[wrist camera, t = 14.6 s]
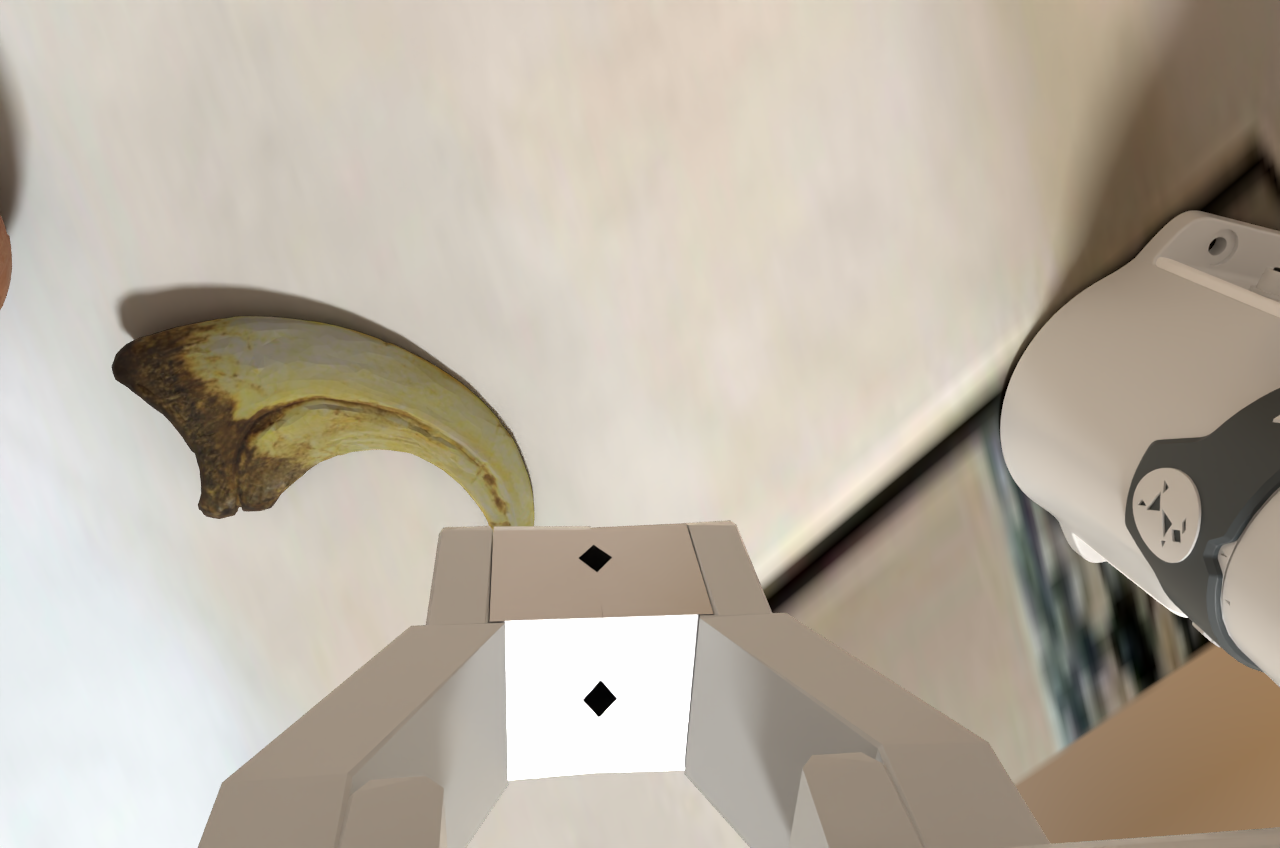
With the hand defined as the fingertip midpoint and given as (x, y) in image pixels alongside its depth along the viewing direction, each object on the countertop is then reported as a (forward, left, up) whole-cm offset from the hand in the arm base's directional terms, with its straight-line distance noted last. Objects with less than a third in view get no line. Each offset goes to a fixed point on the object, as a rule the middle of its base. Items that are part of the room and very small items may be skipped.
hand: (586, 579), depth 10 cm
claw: (+8, +15, -32) cm, 36 cm away
